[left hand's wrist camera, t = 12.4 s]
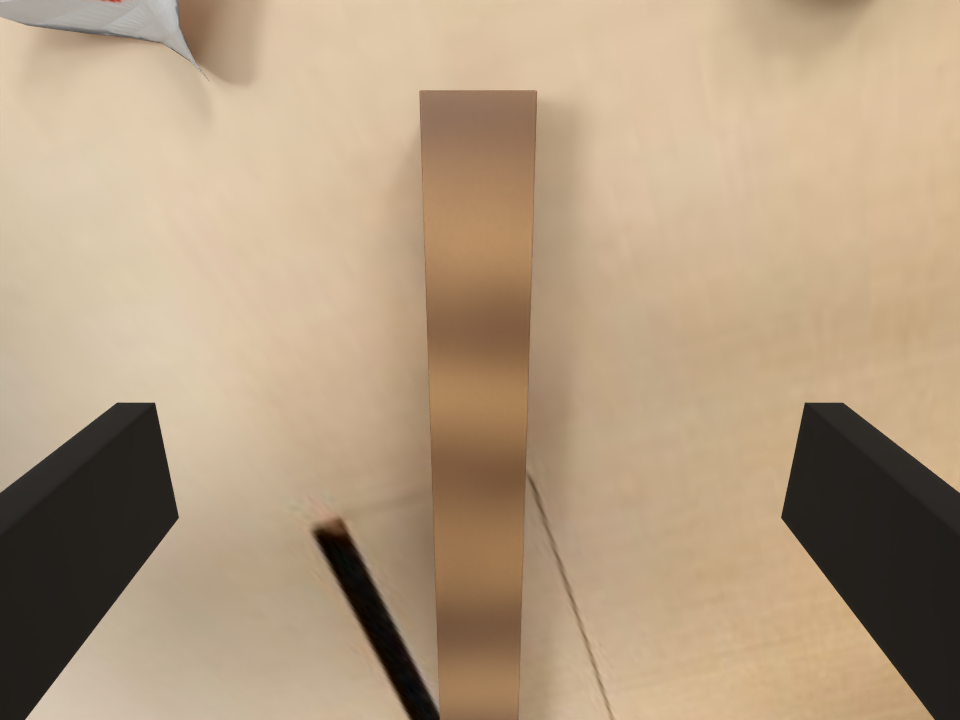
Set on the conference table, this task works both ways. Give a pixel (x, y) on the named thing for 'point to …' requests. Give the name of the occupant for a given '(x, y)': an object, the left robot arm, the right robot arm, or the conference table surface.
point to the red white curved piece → (105, 19)
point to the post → (478, 384)
